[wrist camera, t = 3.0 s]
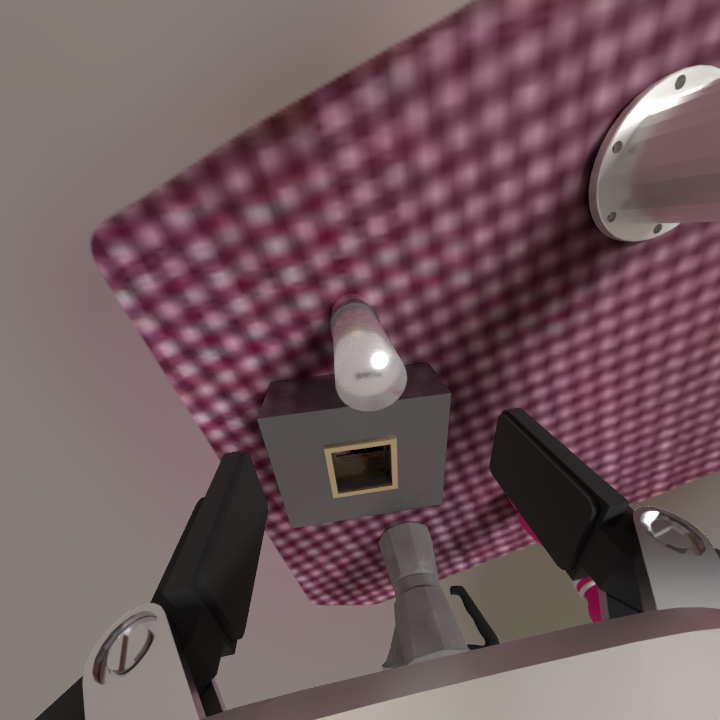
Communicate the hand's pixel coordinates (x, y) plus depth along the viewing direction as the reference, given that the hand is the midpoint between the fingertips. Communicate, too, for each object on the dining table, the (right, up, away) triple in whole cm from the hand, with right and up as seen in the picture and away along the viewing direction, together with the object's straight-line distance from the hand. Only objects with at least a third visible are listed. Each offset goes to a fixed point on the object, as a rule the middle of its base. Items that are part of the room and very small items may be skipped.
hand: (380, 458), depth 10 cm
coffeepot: (+8, -27, +36) cm, 45 cm away
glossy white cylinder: (-2, +9, +17) cm, 19 cm away
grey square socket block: (-1, -5, +24) cm, 24 cm away
